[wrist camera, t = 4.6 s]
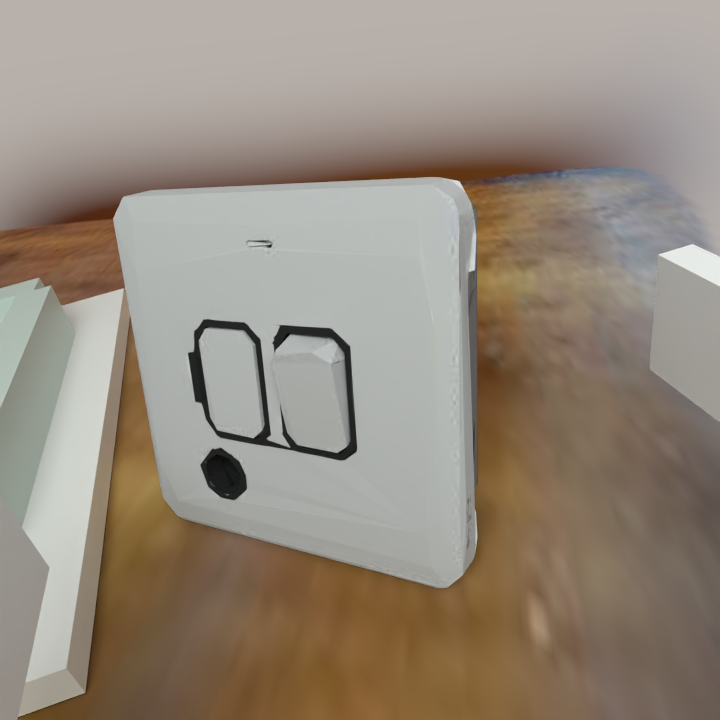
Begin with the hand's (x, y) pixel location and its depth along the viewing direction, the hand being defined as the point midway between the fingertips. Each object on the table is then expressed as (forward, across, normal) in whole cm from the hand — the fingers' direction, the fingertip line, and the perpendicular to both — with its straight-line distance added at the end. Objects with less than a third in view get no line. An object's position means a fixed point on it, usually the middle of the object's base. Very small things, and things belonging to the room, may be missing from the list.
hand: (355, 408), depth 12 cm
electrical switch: (+4, -1, -6) cm, 7 cm away
